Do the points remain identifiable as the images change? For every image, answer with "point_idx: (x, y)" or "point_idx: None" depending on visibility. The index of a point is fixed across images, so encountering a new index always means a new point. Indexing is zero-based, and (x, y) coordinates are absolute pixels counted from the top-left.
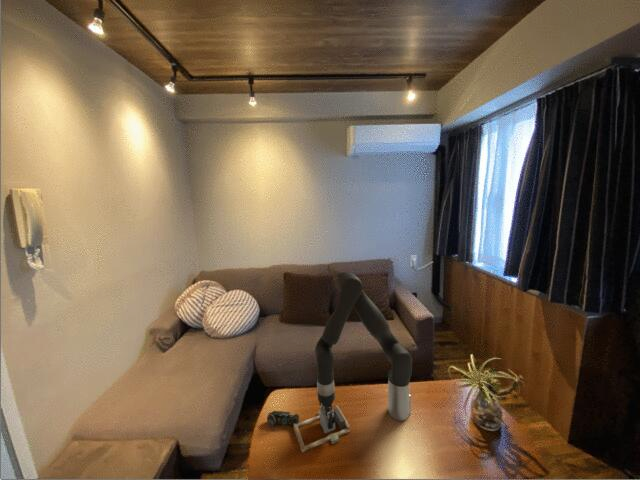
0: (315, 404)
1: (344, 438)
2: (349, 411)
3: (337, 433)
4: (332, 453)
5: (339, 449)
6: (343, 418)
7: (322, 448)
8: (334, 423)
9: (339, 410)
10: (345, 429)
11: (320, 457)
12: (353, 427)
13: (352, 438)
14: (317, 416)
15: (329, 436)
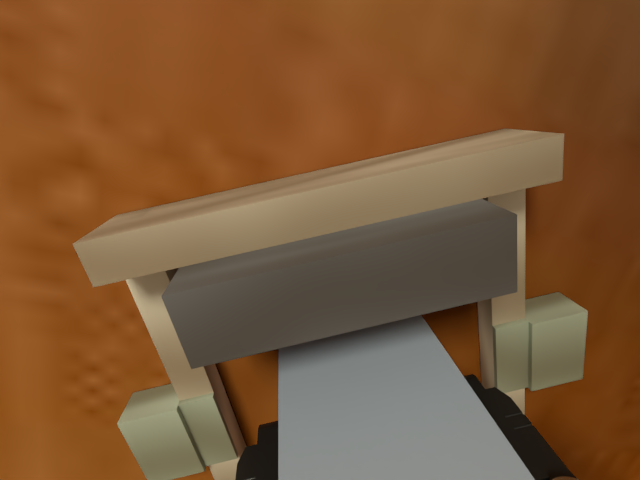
0: (12, 466)
1: (554, 226)
2: (163, 23)
3: (508, 306)
4: (630, 364)
5: (631, 301)
6: (462, 235)
7: (550, 431)
8: (448, 363)
9: (203, 235)
10: (497, 198)
11: (608, 448)
12: (465, 60)
13: (598, 130)
14: (223, 478)
15: (506, 389)
